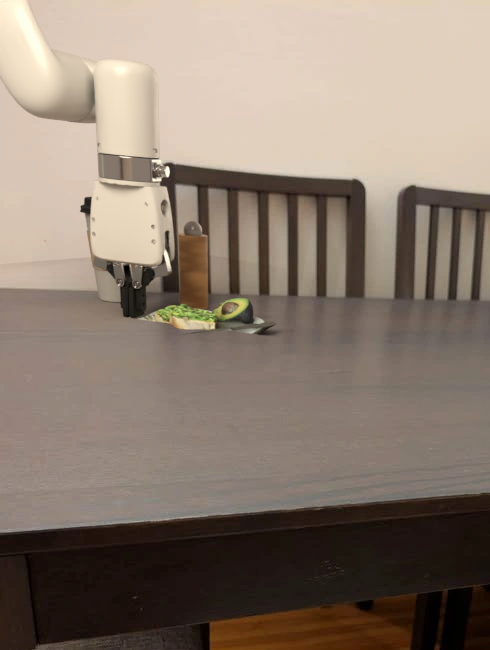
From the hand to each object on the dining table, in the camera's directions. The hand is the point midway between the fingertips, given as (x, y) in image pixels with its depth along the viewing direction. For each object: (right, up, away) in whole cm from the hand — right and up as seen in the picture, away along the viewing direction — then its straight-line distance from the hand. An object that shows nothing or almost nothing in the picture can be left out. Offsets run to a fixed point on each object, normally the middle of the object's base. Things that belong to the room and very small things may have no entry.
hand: (134, 315), depth 100 cm
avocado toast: (+9, -3, +1) cm, 10 cm away
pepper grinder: (+5, +5, +16) cm, 17 cm away
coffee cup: (-8, +6, +17) cm, 20 cm away
